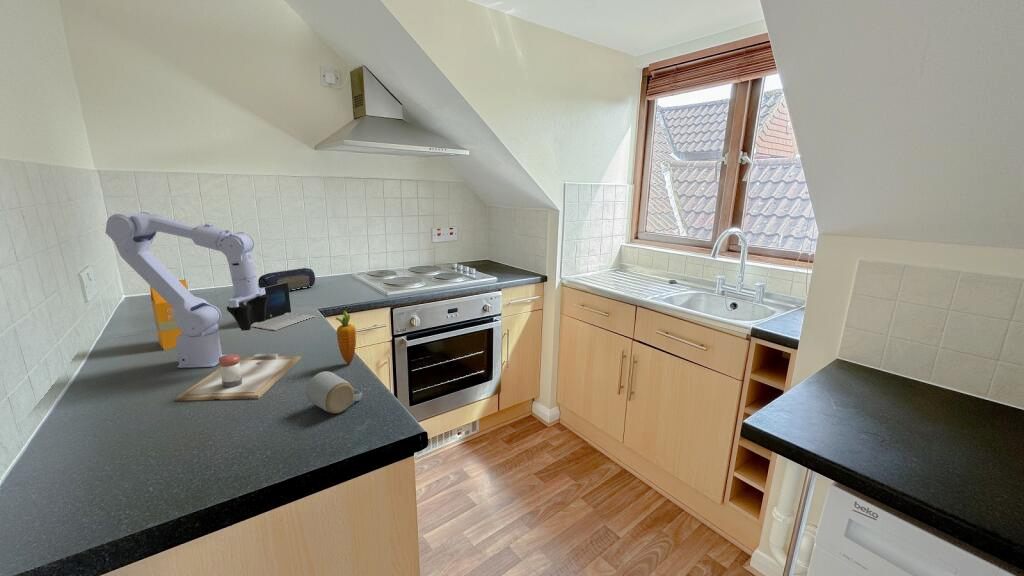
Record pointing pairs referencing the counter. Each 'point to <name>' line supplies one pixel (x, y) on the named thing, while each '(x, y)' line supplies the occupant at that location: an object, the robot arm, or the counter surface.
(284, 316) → the laptop
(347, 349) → the carrot
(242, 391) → the clipboard
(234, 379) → the marker
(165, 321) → the orange juice
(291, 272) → the portable speaker
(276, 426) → the counter surface
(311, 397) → the ceramic mug
